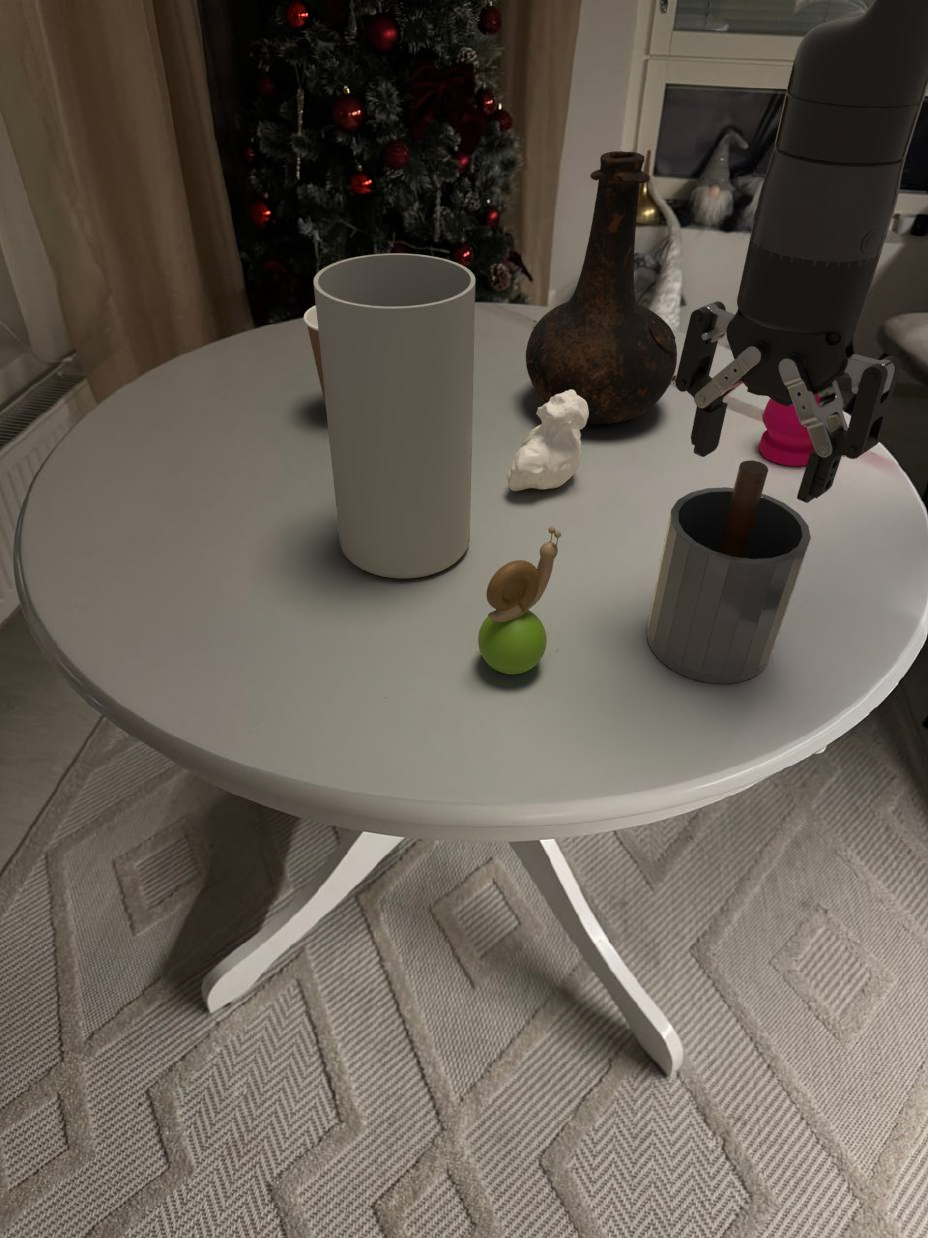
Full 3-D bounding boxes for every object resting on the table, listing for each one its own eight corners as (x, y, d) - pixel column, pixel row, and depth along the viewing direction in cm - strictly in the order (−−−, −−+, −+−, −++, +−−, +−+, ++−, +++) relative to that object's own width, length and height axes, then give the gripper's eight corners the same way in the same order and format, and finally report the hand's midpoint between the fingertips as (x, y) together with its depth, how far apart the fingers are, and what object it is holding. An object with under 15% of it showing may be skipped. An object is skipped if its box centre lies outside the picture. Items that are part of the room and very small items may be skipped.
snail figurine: (566, 666, 69) (582, 545, 61) (504, 698, 66) (512, 575, 58) (525, 630, 72) (535, 511, 64) (464, 659, 69) (466, 538, 61)
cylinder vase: (496, 544, 82) (508, 280, 65) (398, 600, 75) (385, 321, 59) (410, 494, 88) (402, 243, 72) (314, 541, 82) (281, 276, 65)
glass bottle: (632, 457, 95) (677, 185, 77) (495, 416, 102) (506, 158, 84) (688, 398, 107) (738, 150, 88) (561, 365, 114) (584, 129, 96)
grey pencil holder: (693, 589, 77) (721, 473, 69) (793, 645, 71) (836, 526, 63) (622, 638, 71) (643, 519, 64) (723, 703, 66) (761, 581, 58)
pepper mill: (811, 475, 92) (871, 290, 80) (746, 458, 95) (793, 276, 82) (825, 447, 97) (884, 269, 84) (763, 432, 100) (810, 256, 87)
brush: (702, 611, 73) (744, 445, 63) (746, 636, 71) (797, 468, 60) (671, 633, 71) (710, 465, 60) (715, 660, 68) (763, 490, 58)
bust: (520, 523, 88) (589, 466, 80) (472, 468, 88) (536, 405, 79) (570, 473, 96) (638, 417, 88) (526, 423, 96) (590, 361, 87)
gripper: (964, 251, 48) (873, 494, 59) (748, 200, 56) (702, 423, 67) (903, 281, 44) (817, 536, 55) (680, 222, 52) (643, 454, 63)
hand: (754, 473), depth 61 cm, fingers open, 8 cm apart
